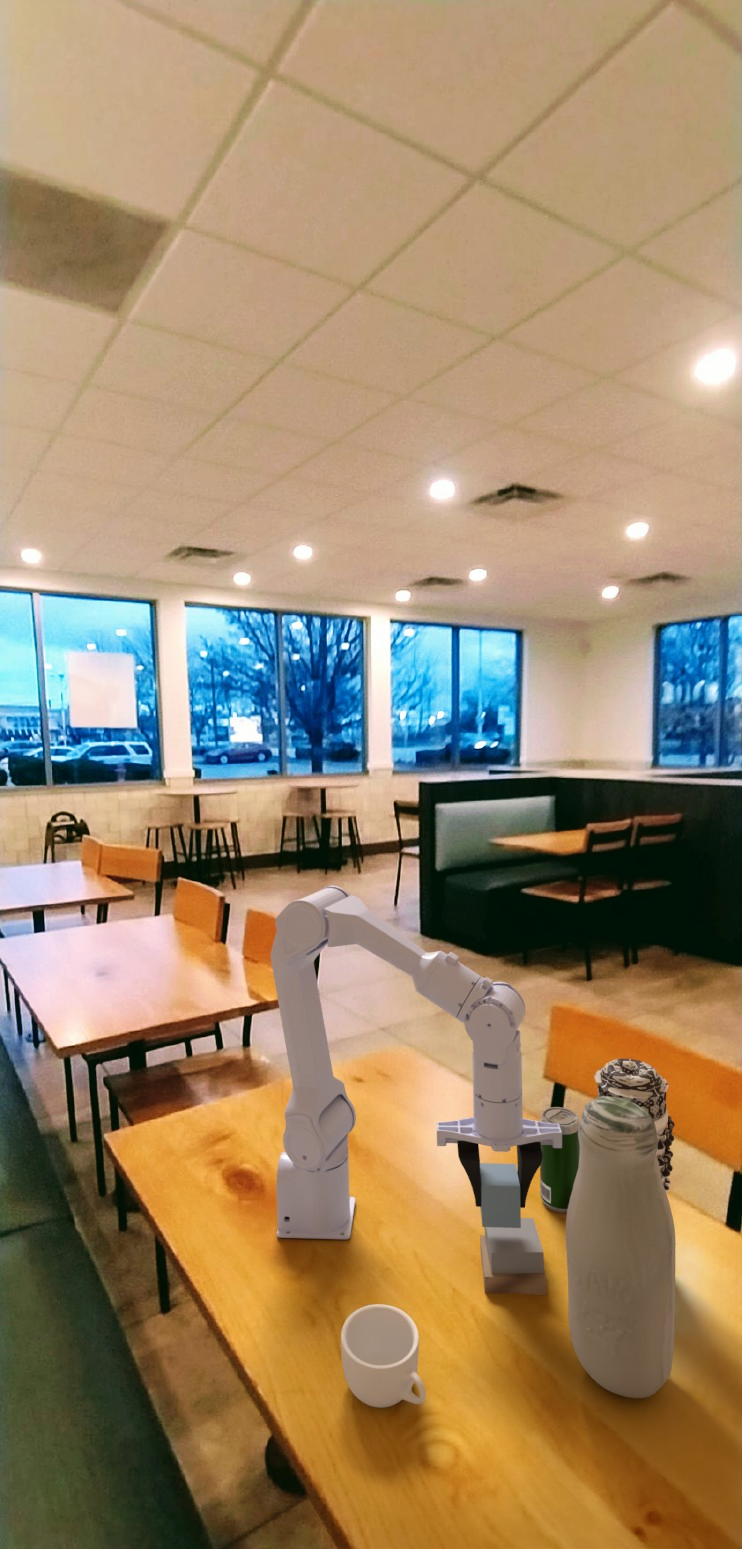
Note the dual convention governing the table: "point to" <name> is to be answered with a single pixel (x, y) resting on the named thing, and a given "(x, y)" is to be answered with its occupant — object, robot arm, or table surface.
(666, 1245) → the glass bottle
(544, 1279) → the walnut base block
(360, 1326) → the teacup
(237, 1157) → the table surface
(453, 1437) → the table surface
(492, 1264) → the grey middle block
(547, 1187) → the beer can
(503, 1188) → the slate blue block
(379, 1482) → the table surface
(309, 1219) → the robot arm
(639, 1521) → the table surface
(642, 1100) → the decorative candle
